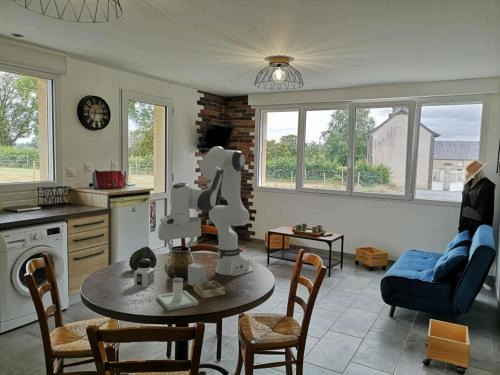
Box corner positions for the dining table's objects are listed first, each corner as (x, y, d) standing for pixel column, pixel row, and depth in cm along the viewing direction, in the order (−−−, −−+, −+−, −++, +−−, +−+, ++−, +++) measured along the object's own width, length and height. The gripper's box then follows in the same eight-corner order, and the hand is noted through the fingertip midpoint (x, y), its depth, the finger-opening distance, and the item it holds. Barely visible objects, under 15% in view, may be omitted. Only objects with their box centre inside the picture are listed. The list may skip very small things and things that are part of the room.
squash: (124, 259, 218) (131, 243, 210) (148, 256, 228) (156, 241, 220) (130, 279, 211) (138, 264, 202) (155, 275, 220) (163, 261, 212)
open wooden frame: (214, 287, 191) (214, 280, 191) (224, 294, 181) (225, 287, 181) (193, 290, 185) (193, 283, 185) (203, 298, 175) (203, 291, 175)
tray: (185, 293, 181) (185, 290, 181) (198, 305, 167) (198, 301, 167) (157, 298, 174) (157, 295, 174) (168, 310, 160) (168, 307, 160)
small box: (206, 285, 194) (206, 265, 193) (199, 288, 189) (199, 267, 188) (194, 281, 198) (195, 262, 197) (187, 284, 194) (187, 265, 193)
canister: (180, 297, 174) (181, 277, 173) (184, 301, 170) (184, 280, 169) (170, 299, 171) (171, 278, 170) (174, 303, 167) (174, 281, 166)
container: (147, 287, 188) (147, 262, 187) (133, 286, 189) (133, 261, 188) (154, 282, 195) (154, 258, 194) (141, 281, 197) (141, 257, 196)
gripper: (198, 215, 179) (198, 243, 181) (156, 218, 169) (157, 248, 170) (203, 217, 174) (203, 246, 175) (161, 221, 163) (161, 251, 165)
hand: (180, 247), depth 173 cm, fingers open, 8 cm apart
